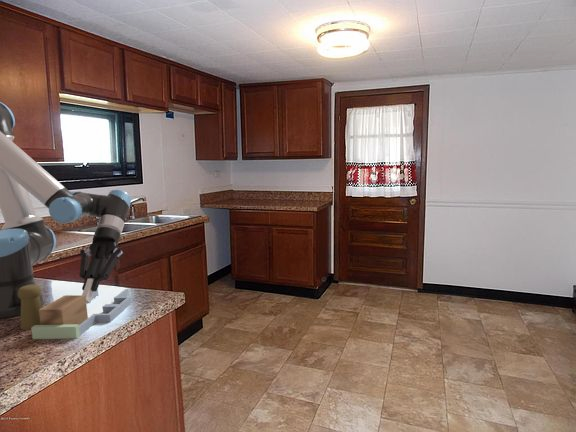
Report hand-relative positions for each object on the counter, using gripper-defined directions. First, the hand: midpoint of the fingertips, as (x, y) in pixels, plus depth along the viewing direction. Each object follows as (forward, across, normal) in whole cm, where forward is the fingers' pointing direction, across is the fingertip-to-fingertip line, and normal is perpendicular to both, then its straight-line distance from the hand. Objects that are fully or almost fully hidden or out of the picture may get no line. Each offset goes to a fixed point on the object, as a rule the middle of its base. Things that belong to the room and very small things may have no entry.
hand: (85, 301), depth 110 cm
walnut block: (+9, +1, +3) cm, 9 cm away
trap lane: (+3, -2, -3) cm, 4 cm away
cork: (+8, +11, +2) cm, 13 cm away
